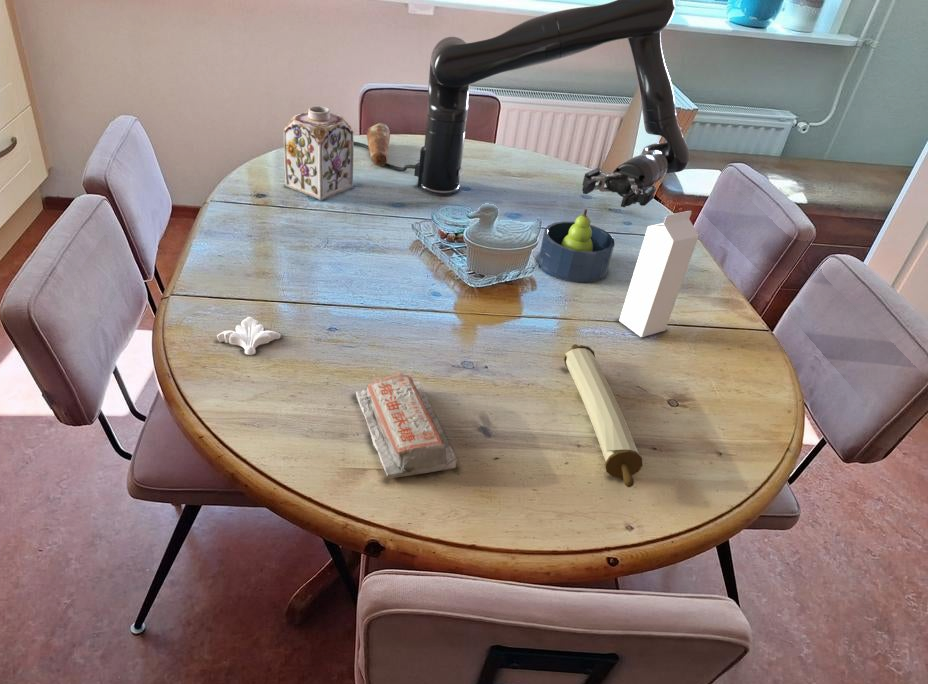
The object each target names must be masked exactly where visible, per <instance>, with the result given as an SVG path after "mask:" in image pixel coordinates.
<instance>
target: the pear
mask: <svg viewBox="0 0 928 684" xmlns="http://www.w3.org/2000/svg"><path fill="white" fill-rule="evenodd" d="M587 214H588V209H587V208H584V210H583V213H582V214H581V215H578V216H577V217H576V218H575V220H574V222H575V224H573V225H572V226H571V227H570V229H569V232H568V235H567V236H566V237H565V238H564V239H563V241H562V243H561V245H562V246H564V247H567V248H570V249H573V250H579V251H585V252H592V250H593V244H592V241H591V236H592V230H591V228H590V225H591V219H590V217H588V215H587Z"/></svg>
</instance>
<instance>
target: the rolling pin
mask: <svg viewBox="0 0 928 684" xmlns="http://www.w3.org/2000/svg"><path fill="white" fill-rule="evenodd" d="M564 354H565V355H564V357H563V360H564V366H565V367H567V370H568V371H569V374H570V376H571V378H572V380H573V382H574V384H575V386H576V388H577V391H578V393H579V397H580V398H581V401H582V403H583V406H584V408H585V410H586V412H587V415H588V417H589V420H590V422H591V425H592V428H593V430H594V433H595V436H596V438H597V441H598V445H599V447H600V450H601V452H602V455H603V458H604V461H605V462H604V463H605V464H604V465H605V471H606V473H607V474H608V475H610V476H611V477H613V478H617V479H623V484H624V486H625V487H627V488H632V487H633V486H634V484H635V481H634V477H633V476H634V475H636V474H637V473H639V471H640V470H641V469H642V467H643V466H644V464H643V457H642V455H641V454H640V453H639V451H638V449H637V446H636V444H635V441H634V439H633V436H632V433H631V431H630V429H629V426H628V424H627V422H626V419H625V417H624V414H623V412H622V409H621V408H620V406H619V404H618V401H617V399H616V397H615V395H614V392H613V391H612V389H611V386H610V385H609V383H608V381H607V378H606V376H605V374H604V372H603V370H602V368H601V367H600V365H599V363H598V361H597V360H596V359H597V358H596V354H595V351H594V350H593V349H592V348H591V347H589V346H588V345H582V344H581V345H578V344H572V345H571V348H569V350H567V351H566V352H564Z"/></svg>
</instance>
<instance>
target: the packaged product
mask: <svg viewBox="0 0 928 684" xmlns="http://www.w3.org/2000/svg"><path fill="white" fill-rule="evenodd" d="M355 393H356V400H357V402H358V404H359V407H360V410H361V412H362V414H363V416H364V419H365V421H366V425H367V428H368V430H369V433H370V437H371V441H372V445H373V447H374V448H375V450H376V452H377V454H378V457H379V461H380V463H381V465H382V468H383V469H384V472H385V474H386V477H387V479H388V480H389V479H390V480H391V479H395V478H396V479H397V478H403V477H409V476H416V475H421V474H427V473H434V472H439V471H447V470H452V469H456V466H457V461H458V457H456V455H455V452H454V451H453V449H452V446H451V444H450V442H449V440H448V438H447V436H446V435H445V432H444V430H443V428H442V426H441V423H440V422H439V420H438V418H437V415H436V413H435V412H434V410H433V407H432V406H431V403H430V402H429V399H428V397H427V395H426V393H425V391H424V389H423V387H422V385H421V383H420V381H419V380H417V381H414V380H413V378H412V376H411V374H407V373H402V372H399V373H393V374H391V375H389V376H386V377H383V378H381V379H380V378H379V379H376V380H374V381H372V382H369V384H368V385H367V388H366V389H362V390H355Z"/></svg>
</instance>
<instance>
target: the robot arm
mask: <svg viewBox="0 0 928 684" xmlns="http://www.w3.org/2000/svg"><path fill="white" fill-rule="evenodd" d="M675 7H676V5H675V0H613V1H611V2H607V3H603V4H598V5H589V6H581V7H574V8H568V9H562V10H557V11H553V12H550V13H547V14H542V15H539V16H535V17H533V18H530V19H527V20H525V21H523V22H521V23H519V24H517V25H515V26H513V27H512V28H509V29H508V30H506V31H505V32H503V33H501V34H499V35H496V36H493V37H490V38H487V39H483V40H477V41H472V42H466V41H465V40H464V39H463V38H460V37H457V36H447V37H443V38H442V39H441V40H439V41H438V42H437V43H436V44H435V46H434V48H433V49H432V51H431V54H430V55H431V56H430V61H429V63H430V64H429V75H428V87H427V110H426V124H425V135H424V145H423V146H422V147H420V153H419V162H417V163H415V164H405V165H404V166H397V165H394V164H391V163H388V162H387V163H386V164H385V165H384V166H383V167H385V168H387V169H391V170H395V171H399V172H405V171H407V170H409V169H411V170H414V172H413V173H414V174H413V176H414V177H416V178H417V187H418V188H421V189H422V190H423V191H424V192H426V193H429V194H432V195H440V196H449V195H454V194H457V192H459V189H460V178H461V174H462V172H463V167H462V162H463V154H464V146H465V137H466V129H467V120H468V113H469V89H470V85H472V84H474V83H477V82H480V81H482V80H484V79H487V78H491V77H492V76H496V75H498V74H502V73H506V72H507V73H508V72H512V71H516V70H521V69H526V68H529V67H533V66H537V65H538V66H539V65H543V64H546V63H550V62H554V61H559V60H561V59H564V58H567V57H570V56H573V55H577V54H579V53H582V52H585V51H588V50H591V49H593V48H596V47H598V46H602V45H604V44H607V43H610V42H615V41H619V40H625V39H627V41H628V43H629V46H630V51H631V54H632V58H633V62H634V65H635V66H634V67H635V72H636V77H637V84H638V90H639V96H640V105H641V113H642V119H643V126H644V130H645V132H646V134H648V135H652V136H659V137H662V138H663V139H664V140H665V141H663V142H655V143H651V144H648V145H646V146H644V147H643V149H642V151H641V153H640V154H639V155H636V156H634V157H632V158H630V159H628V160H626V161H624V162H623V163H621V164H619V165H618V166H617V167H616V168H615V169H614V171H613V172H608V173H604V172H602V170H603V169H602V168H600V167H596V168H594V169H592V170H590V171H587V172H586V173H584V177H583V181H582V189H581V191H582V194H584V195H588V194H589V193H591V192H593V191H596V190H597V191H599V192H601V193H604V192H606V193H607V192H609V193H610V192H611V193H612V194H613V193H616V194H618V196H620V197H622V200H621V203H620V207H622V208H626V207H630V206H631V205H636V204H637V203H639V205H640V206H641V207H645V206H647V205H648V204H649V203H650V202H651V201H652V200H653V199H654V197H655V194H656V190H657V186H655V184H656V183H657V182H658V181H660V180H661V179H663V177H664V176H665V175H666V174H674V173H680V172H682V171H685V169H686V168H687V167H688V166H689V163H690V159H691V153H690V149H689V145H688V143H687V141H686V139H685V136H684V134H683V132H682V130H681V127H680V124H679V121H678V118H677V108H676V101H675V95H674V89H673V85H672V81H671V77H670V75H669V72H668V69H667V66H666V63H665V58H664V54H663V49H662V42H661V41H662V39H661V37H662V36H661V32H662V31H663V30H664V29H665V28H666V27H667V26H668V25H669V24H670V22H671V20H672V18H673V16H674V13H675ZM353 142H354V146H357V147H360V148H364V149H366V150H367V151H369V146H368V144H366V143H363V142H358V141H353ZM597 183H598V184H597Z"/></svg>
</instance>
